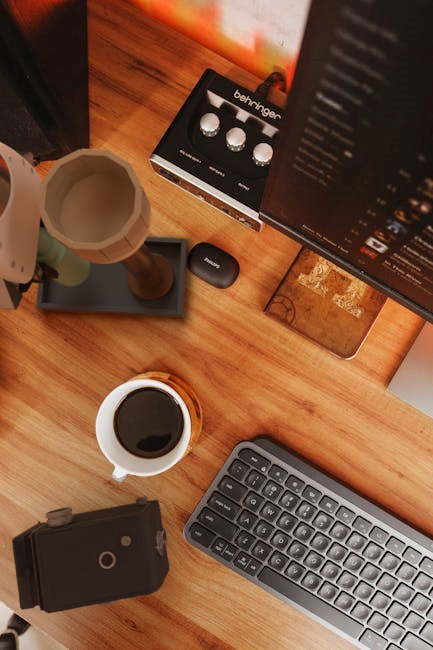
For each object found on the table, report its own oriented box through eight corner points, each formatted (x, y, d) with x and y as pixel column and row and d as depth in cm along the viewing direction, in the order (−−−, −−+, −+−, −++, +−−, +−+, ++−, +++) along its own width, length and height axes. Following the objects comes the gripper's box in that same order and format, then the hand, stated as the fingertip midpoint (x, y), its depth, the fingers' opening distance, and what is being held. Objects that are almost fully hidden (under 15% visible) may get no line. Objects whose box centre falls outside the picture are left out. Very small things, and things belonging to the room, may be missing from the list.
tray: (43, 310, 68) (36, 307, 66) (50, 237, 69) (43, 231, 67) (183, 318, 67) (181, 315, 65) (188, 243, 68) (186, 238, 66)
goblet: (119, 306, 67) (33, 247, 39) (123, 246, 68) (43, 146, 40) (180, 309, 67) (137, 252, 39) (184, 249, 67) (145, 150, 40)
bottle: (50, 285, 64) (-1, 257, 51) (54, 248, 65) (4, 210, 51) (88, 287, 64) (46, 259, 50) (91, 249, 64) (51, 212, 51)
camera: (159, 478, 66) (31, 505, 65) (154, 492, 55) (-1, 526, 54) (176, 570, 65) (46, 600, 63) (175, 604, 53) (16, 642, 52)
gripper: (-87, 65, 39) (18, 168, 57) (-117, 302, 37) (1, 331, 55) (18, 68, 39) (90, 171, 57) (-8, 308, 37) (75, 335, 55)
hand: (45, 249), depth 56 cm, fingers closed on bottle, 4 cm apart
